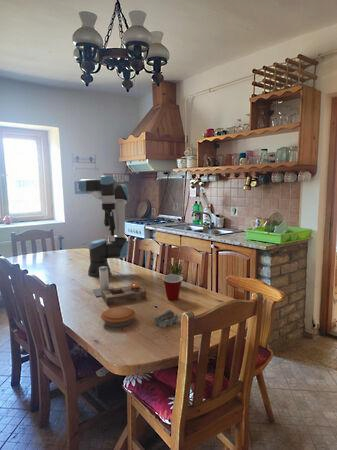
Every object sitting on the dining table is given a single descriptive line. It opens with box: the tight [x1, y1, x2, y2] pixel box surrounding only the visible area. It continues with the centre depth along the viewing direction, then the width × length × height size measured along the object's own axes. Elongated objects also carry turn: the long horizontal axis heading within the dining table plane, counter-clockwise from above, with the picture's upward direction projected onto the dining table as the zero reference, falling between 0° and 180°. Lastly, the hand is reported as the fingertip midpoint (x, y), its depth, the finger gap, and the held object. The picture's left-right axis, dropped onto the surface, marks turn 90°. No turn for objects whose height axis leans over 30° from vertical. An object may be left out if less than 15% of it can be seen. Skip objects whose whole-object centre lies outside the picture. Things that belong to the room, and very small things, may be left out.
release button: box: [130, 282, 140, 290], centre depth 174 cm, size 4×4×6 cm
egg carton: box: [153, 309, 180, 328], centre depth 142 cm, size 11×8×4 cm
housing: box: [101, 285, 147, 306], centre depth 172 cm, size 13×21×4 cm, turn 113°
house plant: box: [166, 259, 186, 288], centre depth 188 cm, size 14×14×16 cm
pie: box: [100, 306, 136, 328], centre depth 144 cm, size 15×16×5 cm
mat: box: [92, 286, 115, 298], centre depth 183 cm, size 12×12×1 cm
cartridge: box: [98, 266, 110, 292], centre depth 182 cm, size 5×5×14 cm
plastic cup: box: [162, 273, 184, 302], centre depth 169 cm, size 11×11×12 cm
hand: (110, 238), depth 186 cm, fingers open, 13 cm apart
